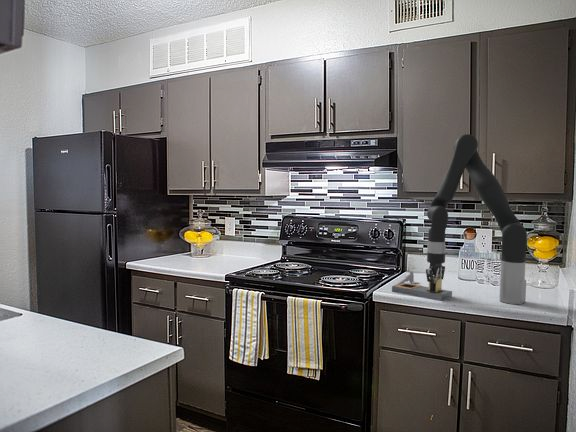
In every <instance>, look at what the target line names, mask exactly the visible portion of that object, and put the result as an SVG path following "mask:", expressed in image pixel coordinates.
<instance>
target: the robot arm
mask: <svg viewBox="0 0 576 432" xmlns="http://www.w3.org/2000/svg"><path fill="white" fill-rule="evenodd" d="M478 146H479V142H478V140H477V138H476V137H475V136H474V135H472V134H470V133H469V134H468V133H465V134H462V135H460V136H459V137H458V138H457V139H456V140H455V143H454V144H453V151H454V152H453V155H452V159H451V162H450V165H449V166H448V168H447V170H446V173H445V174H444V176H443V178H442V180H441V183H440V185H439V188H438V190H437V193H436V195H435V197H434V198H433V200H432V201H431V203H430V205H429V206H428V208H427V211H426V215H427V216H426V217H427V218H428V220H430V221H431V225H430V228H429V230H428V233H427V234H428V236H427V237H428V238H427V240H428V241H427V250H426V262H427V263H429V268H426V269H425V275H426V281H427V282H428V283H429V282H430V291H432V292H435V284H436V278H441V279H442V280H444V276H445V272H446V266H445V265H443V264H444V263H445V262H446V230H447V227H448V220H449V213H448V212H449V211H448V210H447V206H448V204H449V203H451V202H452V201H453V199H454V197H455V195H456V192H457V189H458V188H459V185H460V182H461V180H462V176H463V175H464V171H465V169H466V171H467V173H468V175H469V178H470V180H471V182H472V184H473V186H474V188H475V190H476V192H477V194H478V195H479V197H480V199H481V201H482V202H483V204H484V205H485V207H486V208H487V209H488V210H489V212H490V213H491V215H493V217H494V219H495V221H496V222H497V225H498V227H499V229H500V231H501V232H500V233H501V254H500V256H501V259H500V276H499V277H500V281H499V282H500V283H499V301H500V302H502V303H506V304H511V305H523V304H525V303H526V297H527V295H526V294H527V280H526V258H527V242H528V232H527V229H526V227H524V226H523V225H522V223H521V222H520V220H519V219H518V217H517V216H516V215H515V213H514V212H513V210H512V208H511V206H510V202H509V201H508V198H507V196H506V193H505V191H504V190H503V188H502V185H501V183H500V182H499V180H498V179H497V177H496V176H495V174H494V173H493V172H492V171H491V170H490V169H489V168H488V167H487V165H485V163H484V162H483V160H482V158H481V156H480V154H479V152H478ZM429 278H430V279H429ZM433 278H434V279H433Z"/></svg>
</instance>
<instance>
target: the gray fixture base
mask: <svg viewBox="0 0 576 432" xmlns="http://www.w3.org/2000/svg"><path fill="white" fill-rule="evenodd" d="M391 292H392V293H398V294H403V295H410V296H414V297H419V298H425V299H428V300H429V299H431V300H436V301H440V302H442V301H444V300H447V299H451V298H452V297H453V291H451V290H447V289H442V290H441V292H440V293H434V292H429V286H424V285H421V284H416V283H410V282H409V283H408V282H404V283H401V284H397V285H395V284H394V285H392V286H391Z"/></svg>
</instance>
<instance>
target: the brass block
mask: <svg viewBox="0 0 576 432" xmlns="http://www.w3.org/2000/svg"><path fill="white" fill-rule="evenodd" d="M429 279H430V277H429ZM433 279H434V278H433ZM442 282H443V281H442V279H441V278H436V284H435V292H434V293H440V292H441V290H443V288H442V285H443V284H442ZM428 287H429V292H432V291H430V282H428Z"/></svg>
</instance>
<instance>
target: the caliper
mask: <svg viewBox="0 0 576 432" xmlns="http://www.w3.org/2000/svg"><path fill="white" fill-rule="evenodd" d="M414 274H415V273H414V272H413V270H410V271H409V273H408V274H406V275H405V277H403V278H402V279H401V280H398V282H396V283H395V284H394V285H397V284H401V283H408V282H409V283H410V284H413V283H414V281H415V280H414V276H415V275H414Z"/></svg>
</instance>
